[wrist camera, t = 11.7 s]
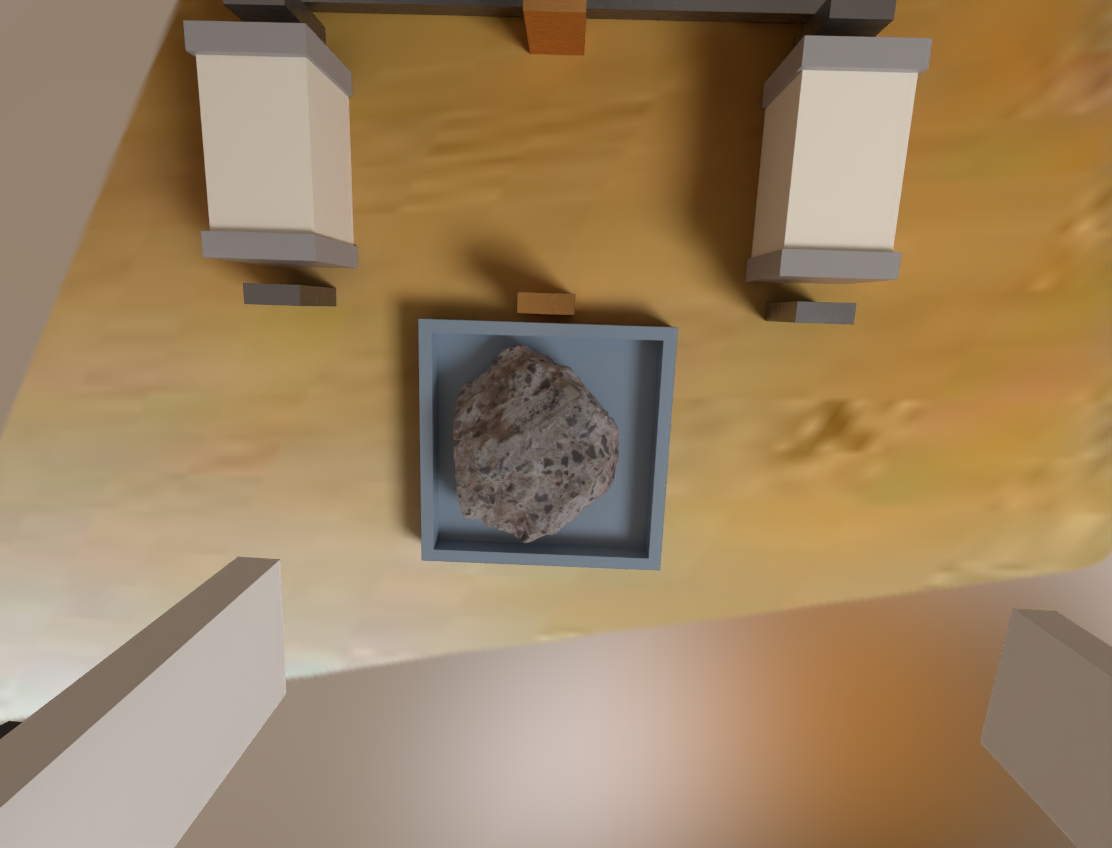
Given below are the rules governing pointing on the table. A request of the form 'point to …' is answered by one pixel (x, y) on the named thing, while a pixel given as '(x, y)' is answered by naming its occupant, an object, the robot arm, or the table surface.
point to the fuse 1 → (274, 144)
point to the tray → (622, 390)
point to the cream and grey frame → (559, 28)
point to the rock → (530, 445)
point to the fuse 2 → (835, 159)
